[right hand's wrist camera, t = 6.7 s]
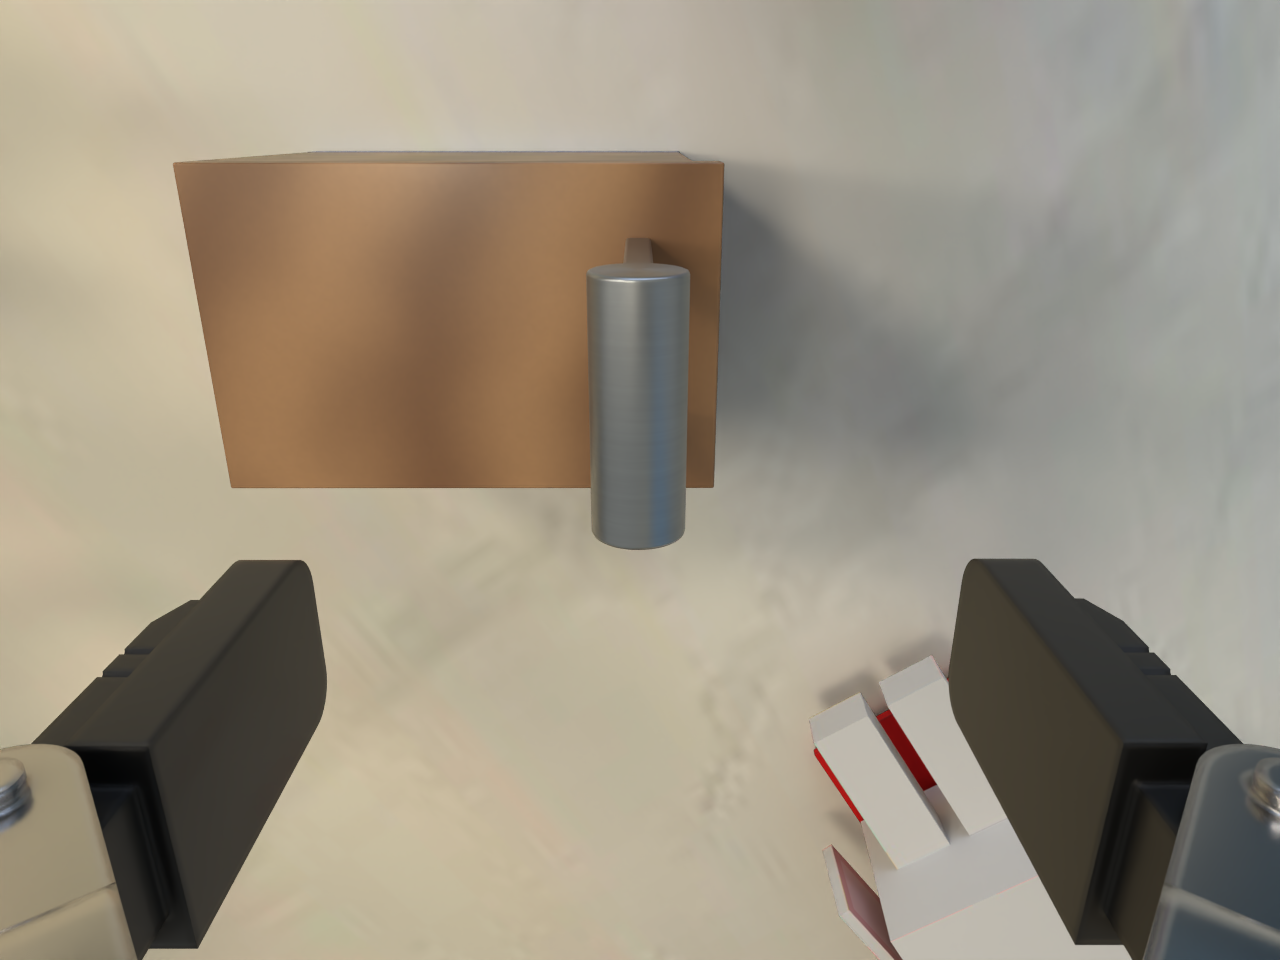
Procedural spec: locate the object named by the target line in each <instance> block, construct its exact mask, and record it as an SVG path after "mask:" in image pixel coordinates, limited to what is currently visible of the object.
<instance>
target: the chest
mask: <svg viewBox="0 0 1280 960" xmlns="http://www.w3.org/2000/svg"><path fill="white" fill-rule="evenodd" d="M202 161H692V160H690V159H688V158H687V157H685V156H683V155H682V154H680V152H679V151H316V152H307V153H294V154H281V155H268V156H255V157H241V158H228V159H215V160H202Z"/></svg>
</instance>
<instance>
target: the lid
mask: <svg viewBox="0 0 1280 960" xmlns="http://www.w3.org/2000/svg"><path fill="white" fill-rule="evenodd" d="M173 167H174V172H175V178H176V183H177V189H178V194H179V200H180V206H181V211H182V217H183V222H184V228H185V233H186V239H187V244H188V250H189V255H190V261H191V266H192V272H193V278H194V283H195V289H196V294H197V300H198V305H199V311H200V316H201V322H202V327H203V333H204V338H205V344H206V350H207V355H208V361H209V366H210V372H211V377H212V383H213V388H214V394H215V399H216V405H217V411H218V416H219V422H220V427H221V433H222V438H223V444H224V449H225V455H226V460H227V466H228V471H229V477H230V483H231V487H232V488H591V519H592V532H593V534H594V536H595V537H596V538H597V539H598V540H599V541H601V542H603V543H605V544H607V545H609V546H613V547H617V548H622V549H630V550H646V549H655V548H660V547H664V546H667V545H670V544H672V543H674V542H676V541H677V540H679V539H680V538H681V537H682V535H683V533H684V531H685V505H686V488H713V487H714V466H715V436H716V405H717V374H718V344H719V313H720V282H721V252H722V221H723V190H724V163H722V162H720V161H188V162H175V163H173Z"/></svg>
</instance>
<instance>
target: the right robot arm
mask: <svg viewBox="0 0 1280 960" xmlns="http://www.w3.org/2000/svg"><path fill="white" fill-rule="evenodd" d="M948 682H949V696H950V702H951V707H952V711H953V714H954V717H955V720H956V722H957V724H958V726H959V728H960V730H961V732H962V734H963V735H964V737H965V739H966V741H967V743H968V745H969V747H970V749H971V750H972V752H973V754H974V756H975V758H976V760H977V762H978V764H979V765H980V767H981V769H982V771H983V773H984V775H985V777H986V779H987V781H988V782H989V784H990V786H991V788H992V790H993V792H994V794H995V796H996V797H997V799H998V801H999V803H1000V805H1001V807H1002V809H1003V811H1004V812H1005V814H1006V816H1007V818H1008V820H1009V822H1010V824H1011V826H1012V827H1013V829H1014V831H1015V833H1016V835H1017V837H1018V839H1019V841H1020V843H1021V844H1022V846H1023V848H1024V850H1025V852H1026V854H1027V856H1028V858H1029V859H1030V861H1031V863H1032V865H1033V867H1034V869H1035V871H1036V873H1037V874H1038V876H1039V878H1040V880H1041V882H1042V884H1043V886H1044V888H1045V889H1046V891H1047V893H1048V895H1049V897H1050V899H1051V901H1052V903H1053V905H1054V906H1055V908H1056V910H1057V912H1058V914H1059V916H1060V918H1061V920H1062V921H1063V923H1064V925H1065V927H1066V929H1067V931H1068V933H1069V935H1070V936H1071V938H1072V940H1073V942H1074V944H1075V945H1124V947H1125V948H1126V950H1127V952H1128V953H1129V955H1130V957H1131V959H1132V960H1280V749H1277V748H1272V747H1267V746H1260V745H1252V744H1243V743H1242V742H1241V741H1240V740H1239V739H1238V738H1237V737H1236V736H1235V735H1234V734H1233V733H1232V732H1231V731H1230V730H1229V729H1228V728H1227V727H1226V726H1225V725H1224V724H1223V723H1222V722H1221V721H1220V720H1219V719H1218V718H1217V717H1216V715H1215V714H1214V713H1213V712H1212V711H1211V710H1210V709H1209V708H1208V707H1207V706H1206V705H1205V704H1204V703H1203V702H1202V701H1201V700H1200V699H1199V698H1198V697H1197V696H1196V695H1195V694H1194V693H1193V692H1192V691H1191V690H1190V689H1189V688H1188V687H1187V686H1186V685H1185V684H1184V683H1183V682H1182V681H1181V680H1180V679H1179V678H1178V677H1177V676H1176V675H1171V673H1170V668H1169V667H1168V666H1167V665H1166V664H1165V663H1164V662H1163V661H1162V660H1161V659H1160V658H1159V657H1158V656H1157V655H1156V654H1155V653H1149V647H1148V646H1147V645H1146V644H1145V643H1144V642H1143V641H1142V640H1141V639H1140V638H1139V637H1138V636H1137V635H1136V634H1135V633H1134V632H1133V631H1132V630H1131V629H1130V628H1129V627H1128V626H1127V625H1126V624H1125V623H1124V621H1122V620H1120V619H1119V618H1117V617H1115V616H1113V615H1112V614H1110V613H1108V612H1106V611H1105V610H1103V609H1101V608H1099V607H1097V606H1096V605H1094V604H1092V603H1090V602H1089V601H1087V600H1085V599H1075V598H1074V597H1073V596H1072V595H1071V594H1070V593H1069V592H1068V591H1067V590H1066V589H1065V588H1064V587H1063V585H1062V584H1061V583H1060V582H1059V581H1058V580H1057V579H1056V578H1055V577H1054V576H1053V575H1052V574H1051V572H1050V571H1049V570H1048V569H1047V568H1046V567H1045V566H1044V565H1043V564H1042V563H1041V562H1040V561H1039V560H1037V559H972V560H971V561H970V562H969V563H968V564H967V566H966V568H965V571H964V574H963V579H962V585H961V591H960V598H959V605H958V612H957V618H956V625H955V632H954V639H953V645H952V652H951V659H950V666H949V678H948ZM326 690H327V673H326V665H325V659H324V652H323V645H322V639H321V632H320V626H319V619H318V612H317V606H316V599H315V592H314V586H313V580H312V576H311V572H310V570H309V567H308V566H307V564H306V563H305V562H304V561H302V560H239V561H237V562H235V563H234V564H233V565H232V566H231V567H230V568H229V569H228V570H227V571H226V572H225V573H224V574H223V575H222V576H221V578H220V579H219V580H218V581H217V582H216V583H215V584H214V585H213V586H212V587H211V588H210V589H209V590H208V591H207V593H206V594H205V595H204V596H203V597H202V598H201V599H200V600H190V601H188V602H187V603H185V604H183V605H181V606H180V607H178V608H176V609H174V610H172V611H171V612H169V613H167V614H165V615H164V616H162V617H160V618H158V619H157V620H155V621H153V622H151V623H150V624H149V625H148V626H147V627H146V628H145V629H144V630H143V631H142V632H141V633H140V634H139V635H138V636H137V637H136V638H135V639H134V640H133V641H132V642H131V643H130V644H129V645H128V646H127V647H126V648H125V654H124V655H119V656H118V657H117V658H116V659H115V660H114V661H113V662H112V663H111V664H110V665H109V666H108V667H107V668H106V669H105V670H104V671H103V676H102V677H97V678H96V679H95V680H94V681H93V682H92V683H91V684H90V685H89V686H88V687H87V688H86V689H85V690H84V691H83V692H82V693H81V694H80V695H79V696H78V697H77V698H76V699H75V700H74V701H73V702H72V703H71V704H70V705H69V706H68V707H67V708H66V709H65V710H64V711H63V712H62V713H61V714H60V715H59V716H58V717H57V718H56V719H55V720H54V721H53V722H52V723H51V724H50V725H49V726H48V727H47V728H46V729H45V730H44V731H43V732H42V733H41V734H40V736H39V737H38V738H37V739H36V740H35V741H34V742H33V743H32V744H28V745H20V746H13V747H8V748H3V749H0V960H142V959H143V957H144V956H145V954H146V952H147V951H148V949H198V947H199V945H200V943H201V941H202V940H203V938H204V936H205V934H206V932H207V930H208V929H209V927H210V925H211V923H212V921H213V919H214V917H215V916H216V914H217V912H218V910H219V908H220V906H221V904H222V903H223V901H224V899H225V897H226V895H227V893H228V891H229V890H230V888H231V886H232V884H233V882H234V880H235V878H236V877H237V875H238V873H239V871H240V869H241V867H242V865H243V864H244V862H245V860H246V858H247V856H248V854H249V852H250V851H251V849H252V847H253V845H254V843H255V841H256V839H257V838H258V836H259V834H260V832H261V830H262V828H263V826H264V825H265V823H266V821H267V819H268V817H269V815H270V813H271V812H272V810H273V808H274V806H275V804H276V802H277V800H278V799H279V797H280V795H281V793H282V791H283V789H284V787H285V786H286V784H287V782H288V780H289V778H290V776H291V774H292V773H293V771H294V769H295V767H296V765H297V763H298V761H299V760H300V758H301V756H302V754H303V752H304V750H305V748H306V747H307V745H308V743H309V741H310V739H311V737H312V735H313V734H314V732H315V730H316V728H317V726H318V724H319V722H320V720H321V717H322V714H323V710H324V705H325V699H326Z"/></svg>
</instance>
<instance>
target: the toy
mask: <svg viewBox="0 0 1280 960" xmlns="http://www.w3.org/2000/svg"><path fill="white" fill-rule="evenodd" d="M879 684H880V687H881V690H882V693H883V695H884V698H885V701H886V703H887V706H888V708H889V710H887V711H885V712H884V713H882V714H880V715H878V716H875V715H874V713H873V712H872V710H871V708H870V707H869V705H868V704H867V702H866V701H865V699H864V697H863V696H862V694H861V693H860V692H859V693H857V694H855V695H853V696H851V697H849V698H847V699H845V700H843V701H842V702H840V703H838V704H836V705H834V706H832V707H830V708H828V709H826V710H824V711H822V712H820V713H818V714H816V715H814V716H812V717H811V718H809V721H810V726H811V731H812V737H813V742H814V744H815V746H816V747H817V748H816V749H814V754H815V756H816V758H817V759H818V761H819V762H820V764H821V765H822V767H823V768H824V770H825V771H826V773H827V774H828V776H829V777H830V779H831V780H832V782H833V783H834V785H835V786H836V787H837V789H838V790H839V792H840V793H841V795H842V796H843V798H844V799H845V801H846V802H847V804H848V805H849V807H850V808H851V810H852V811H853V813H854V814H855V816H856V817H857V819H858V820H859V822H860V823H861V826H862V830H863V834H864V838H865V842H866V845H867V849H868V853H869V857H870V861H871V865H872V869H873V873H874V877H875V881H876V885H877V889H878V893H879V897H880V898H879V897H878V896H877V895H876V894H875V892H874V891H873V890H872V889H871V888H870V887H869V886H868V885H867V884H866V882H865V881H864V880H863V879H862V878H861V877H860V876H859V875H858V874H857V872H856V871H855V870H854V869H853V868H852V867H851V866H850V865H849V864H848V862H847V861H846V860H845V859H844V858H843V857H842V856H841V855H840V853H839V852H838V851H837V850H836V849H835V848H834V847H833V846H832V845H830V846H828V847H827V848H825V849H824V850H823V854H824V858H825V862H826V866H827V870H828V874H829V878H830V882H831V886H832V890H833V894H834V898H835V902H836V906H837V910H838V914H839V917H840V918H841V919H842V920H843V921H844V922H845V923H846V924H847V925H848V926H849V927H850V929H851V930H852V931H853V932H854V933H855V934H856V935H857V936H858V937H859V938H860V939H861V940H862V942H863V943H864V944H865V945H866V946H867V947H868V948H869V949H870V950H871V951H872V952H873V954H874V955H875V956H876V957H877V958H878V959H879V960H1132V959H1131V957H1130V955H1129V953H1128V952H1127V950H1126V948H1125V947H1124V945H1075V944H1074V942H1073V940H1072V938H1071V936H1070V935H1069V933H1068V931H1067V929H1066V927H1065V925H1064V923H1063V921H1062V920H1061V918H1060V916H1059V914H1058V912H1057V910H1056V908H1055V906H1054V905H1053V903H1052V901H1051V899H1050V897H1049V895H1048V893H1047V891H1046V889H1045V888H1044V886H1043V884H1042V882H1041V880H1040V878H1039V876H1038V874H1037V873H1036V871H1035V869H1034V867H1033V865H1032V863H1031V861H1030V859H1029V858H1028V856H1027V854H1026V852H1025V850H1024V848H1023V846H1022V844H1021V843H1020V841H1019V839H1018V837H1017V835H1016V833H1015V831H1014V829H1013V827H1012V826H1011V824H1010V822H1009V820H1008V818H1007V816H1006V814H1005V812H1004V811H1003V809H1002V807H1001V805H1000V803H999V801H998V799H997V797H996V796H995V794H994V792H993V790H992V788H991V786H990V784H989V782H988V781H987V779H986V777H985V775H984V773H983V771H982V769H981V767H980V765H979V764H978V762H977V760H976V758H975V756H974V754H973V752H972V750H971V749H970V747H969V745H968V743H967V741H966V739H965V737H964V735H963V734H962V732H961V730H960V728H959V726H958V724H957V722H956V720H955V717H954V714H953V711H952V707H951V702H950V696H949V682H948V678H947V679H946V677H945V676H944V674H943V673H942V671H941V669H940V668H939V666H938V664H937V663H936V661H935V660H934V658H933V656H932V655H931V656H929V657H927V658H925V659H923V660H921V661H919V662H917V663H915V664H913V665H911V666H909V667H907V668H905V669H904V670H902V671H900V672H898V673H896V674H894V675H892V676H890V677H888V678H886V679H884V680H882V681H880V682H879Z"/></svg>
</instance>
